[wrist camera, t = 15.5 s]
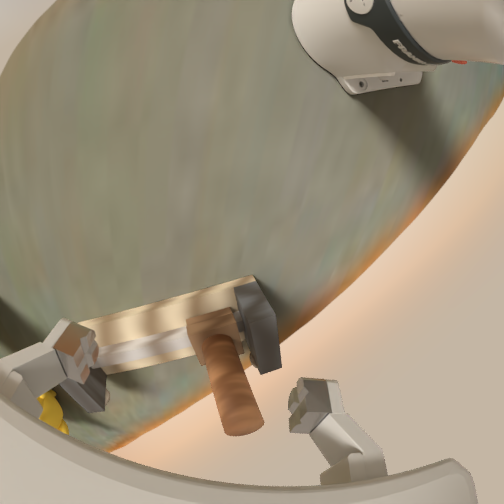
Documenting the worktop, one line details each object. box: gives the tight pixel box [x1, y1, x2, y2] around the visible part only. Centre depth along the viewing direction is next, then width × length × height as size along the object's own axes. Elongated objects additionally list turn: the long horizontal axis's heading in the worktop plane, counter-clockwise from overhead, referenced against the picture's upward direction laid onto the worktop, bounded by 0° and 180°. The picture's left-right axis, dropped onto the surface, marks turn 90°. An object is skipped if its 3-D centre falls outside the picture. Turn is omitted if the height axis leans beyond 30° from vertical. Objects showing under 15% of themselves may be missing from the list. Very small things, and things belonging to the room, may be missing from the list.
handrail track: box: [59, 275, 282, 413], centre depth 32 cm, size 30×11×8 cm, turn 99°
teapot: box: [36, 389, 69, 435], centre depth 29 cm, size 20×15×12 cm
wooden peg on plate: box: [186, 307, 264, 436], centre depth 29 cm, size 6×6×16 cm
